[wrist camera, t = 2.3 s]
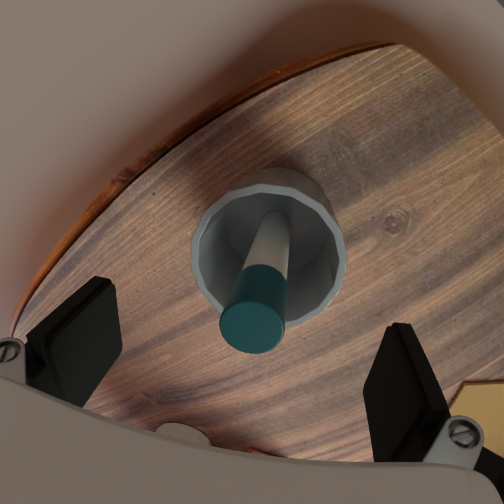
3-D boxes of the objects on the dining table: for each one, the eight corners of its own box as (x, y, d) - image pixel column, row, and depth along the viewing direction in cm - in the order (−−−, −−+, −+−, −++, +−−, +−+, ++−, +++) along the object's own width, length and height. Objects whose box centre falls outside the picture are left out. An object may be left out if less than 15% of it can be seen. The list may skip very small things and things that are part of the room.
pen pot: (226, 161, 21) (194, 176, 15) (340, 176, 20) (360, 198, 14) (218, 265, 24) (189, 316, 17) (321, 280, 23) (328, 337, 17)
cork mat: (463, 382, 25) (464, 385, 25) (566, 374, 23) (568, 376, 23) (403, 468, 31) (403, 470, 31) (508, 452, 29) (509, 454, 29)
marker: (261, 206, 21) (220, 295, 10) (294, 211, 21) (289, 306, 10) (257, 238, 22) (217, 348, 11) (290, 242, 22) (279, 358, 11)
